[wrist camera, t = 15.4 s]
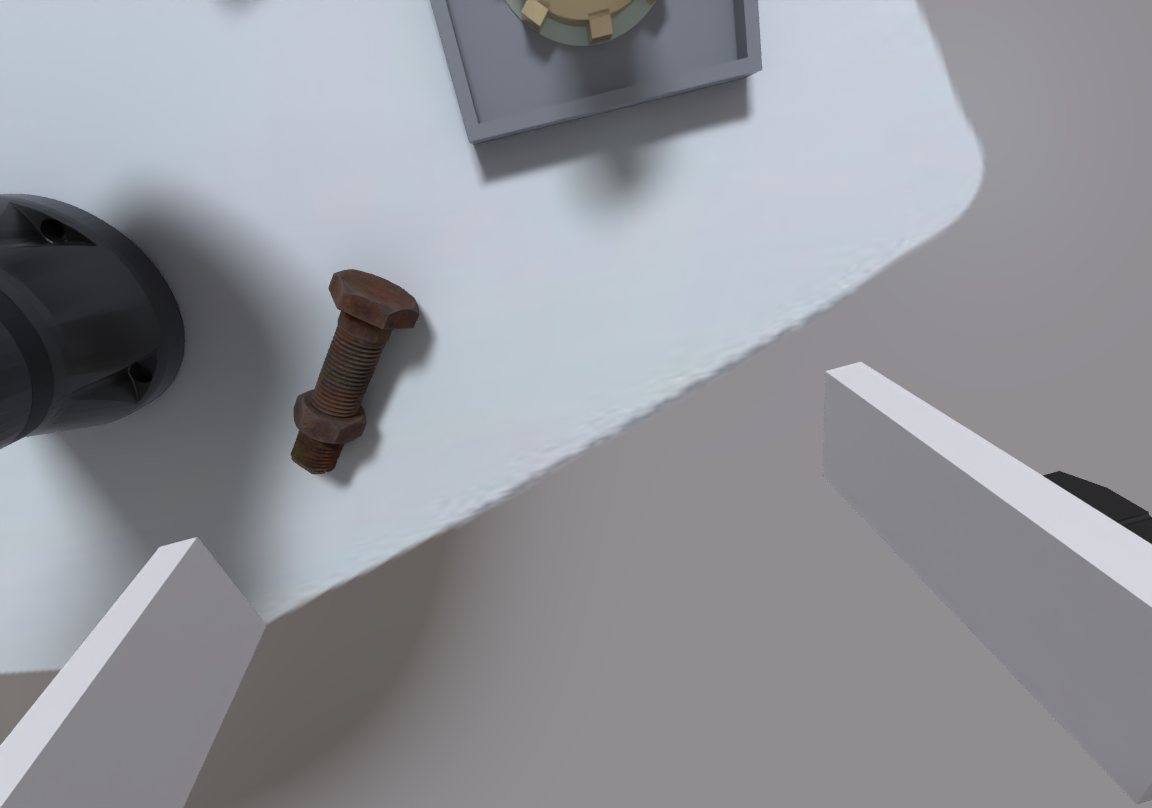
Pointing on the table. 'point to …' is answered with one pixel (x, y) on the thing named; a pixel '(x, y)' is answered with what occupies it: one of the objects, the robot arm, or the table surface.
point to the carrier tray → (588, 59)
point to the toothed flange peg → (577, 15)
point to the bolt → (348, 366)
